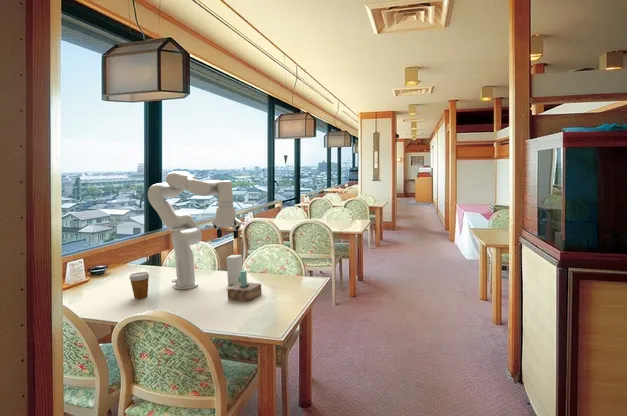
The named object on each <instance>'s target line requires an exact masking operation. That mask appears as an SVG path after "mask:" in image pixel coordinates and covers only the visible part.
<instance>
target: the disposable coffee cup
mask: <svg viewBox="0 0 627 416" xmlns="http://www.w3.org/2000/svg"><path fill="white" fill-rule="evenodd" d="M128 279H129V281H130V285H131V288H132V293H133V299H135V298H138V299H137V300H140V299H139V298H143V299H146V298H148V297H149V296H148V295H149V279H150V274H149V273H148V272H146V271H141V272H140V271H139V272H135V273H131V274H130V275H129V278H128ZM147 296H148V297H147ZM145 297H146V298H145Z"/></svg>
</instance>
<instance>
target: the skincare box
mask: <svg viewBox="0 0 627 416" xmlns="http://www.w3.org/2000/svg"><path fill="white" fill-rule="evenodd" d="M225 259H226V260H225V261H226V272H227V273H226V274H227V285H228V286H234V285H236V284H238V283H240V282H241V276H240V271H244V268H243V256H242V254H231V255H229V256H227V257H225Z"/></svg>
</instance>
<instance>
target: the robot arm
mask: <svg viewBox="0 0 627 416" xmlns="http://www.w3.org/2000/svg"><path fill="white" fill-rule="evenodd" d="M165 181H166V182H159V183H155V184H152V185H151V186H150V187H149V188H148V191H147V198H148V201H149V203H150V205H151V206H152V208H153V209H154V210H155V212H156V213H157V214H158V216H159V218H160V219H161V221H162V222H163V224H164V227H166V229H167V230H168V231H171V232H172V231H175V232H174V233H172V236H171V242H172V247H173V251H174V259H175V274H176V277H173V279H172V280H171V282H172V283H175V284H174V289H175V290H180V291H181V290H189V289H194V288H197V287H198V286H199V282H197V281H196V274H195V258H194V252H193V250H192V249H191V246H193V245H196V244H199V243H200V242H201V241H202V239H203V234H202V231H201V230H200V229H201V228H199V226H198V225H197V223H196V221H195V219H194V218H193V217H192V215H191V214H189V212H186V211H179V212H177V211H176V210H175V208H174V207H173V205H172V204H171V203H170V202H169V201H167V200H166V199H168V198H169V199H170V198H175V197H178V196H179V195H180V194H181V193H182V192H184V190H185V191H188V192H189V193H190V194H192V195H197V196H202V197H208V196H216V195H217V202H215V203H216V206H217V207H216V212H215V219H214V220H213V221H212V222H211V224H212V226H213V228H214V229H215V231H216V236H217V239H220V238H223V232H222V231H223V230H222V228H232V230H233V231H232V233H233V234H232V236H233V239H234V240H235V239H238V238H239V230H240V229H241V226H242V224H243V222H242V221H241V220H239V219H237V218H238V217H237V213H236V209H235V207H234V198H233V183H232V181H231V180H217V179H216V180H214V179H213V180H200V179H197V176H196V175H193V174H190V173H189V172H188V171H185V170H183V171H182V170H181V171H179V170H177V171H171V172H168V174H166V176H165Z"/></svg>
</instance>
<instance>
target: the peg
mask: <svg viewBox="0 0 627 416" xmlns="http://www.w3.org/2000/svg"><path fill="white" fill-rule="evenodd" d="M240 276H241V287H242V288H247V283H248V275H247V270H243V271H240Z"/></svg>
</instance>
